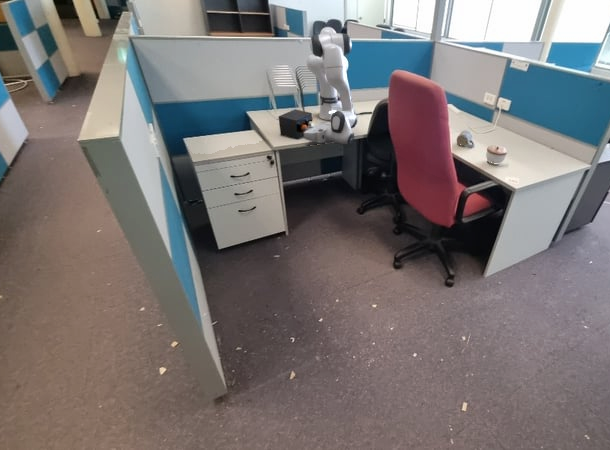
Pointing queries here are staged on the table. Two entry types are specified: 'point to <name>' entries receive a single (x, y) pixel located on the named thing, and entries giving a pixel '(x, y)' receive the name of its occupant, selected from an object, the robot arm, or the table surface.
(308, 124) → the ivory button
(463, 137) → the grey rounded lump
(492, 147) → the trinket box
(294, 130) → the toaster oven
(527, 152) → the table surface
